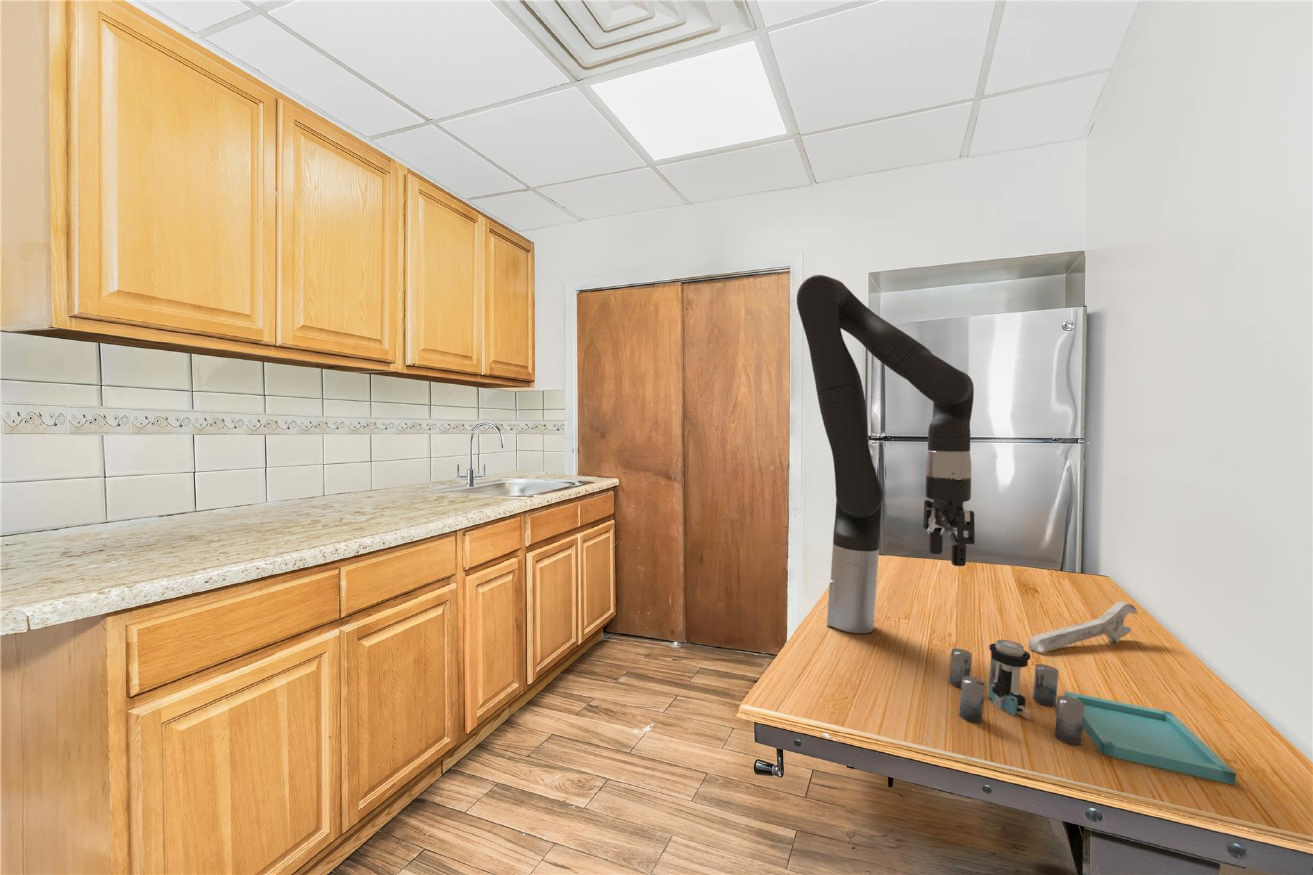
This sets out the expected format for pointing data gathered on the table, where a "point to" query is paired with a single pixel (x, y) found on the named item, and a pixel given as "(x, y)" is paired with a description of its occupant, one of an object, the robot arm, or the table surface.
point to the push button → (1008, 676)
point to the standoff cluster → (1043, 693)
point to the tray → (1149, 738)
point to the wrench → (1086, 630)
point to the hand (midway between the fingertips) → (946, 559)
